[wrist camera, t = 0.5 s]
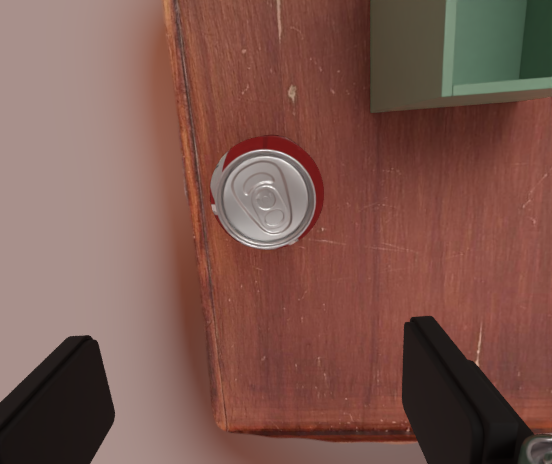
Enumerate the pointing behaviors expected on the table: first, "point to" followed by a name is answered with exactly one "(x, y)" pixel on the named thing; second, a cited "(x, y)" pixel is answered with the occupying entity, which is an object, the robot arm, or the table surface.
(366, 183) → the table surface
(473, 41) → the carton
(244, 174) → the soda can
